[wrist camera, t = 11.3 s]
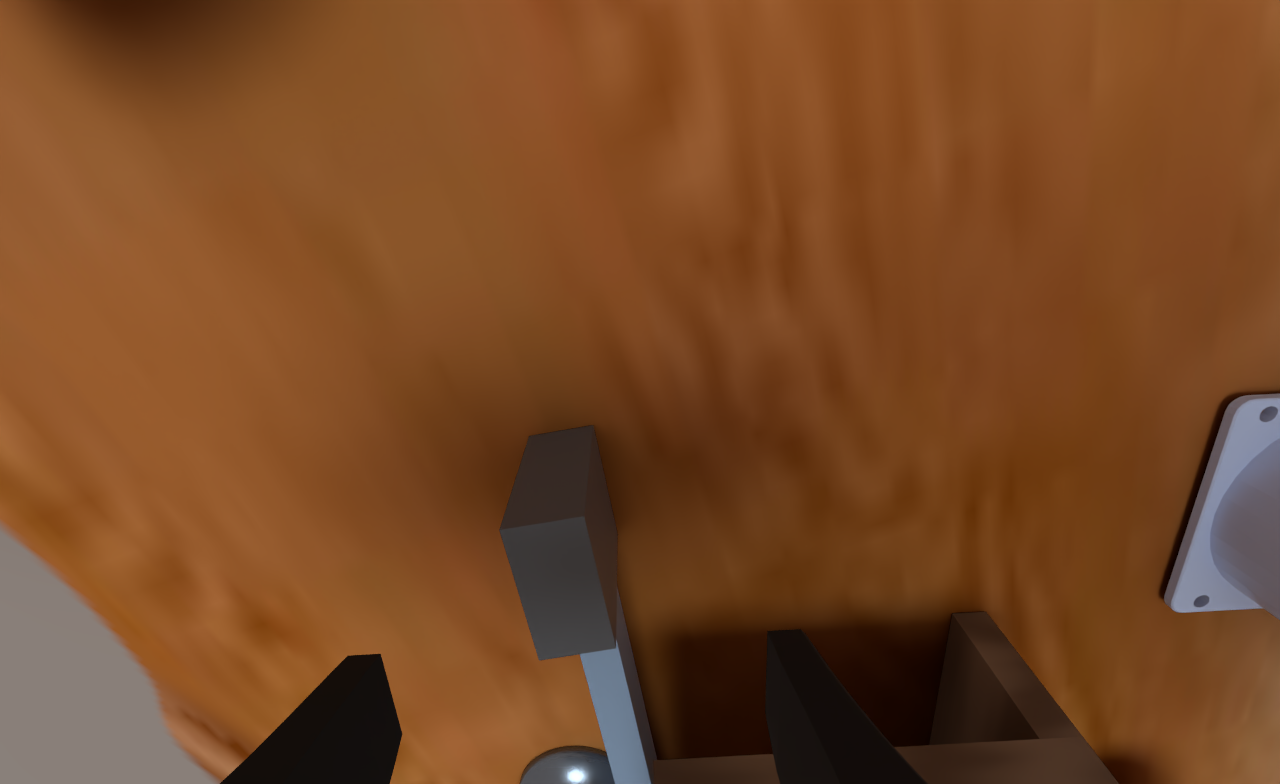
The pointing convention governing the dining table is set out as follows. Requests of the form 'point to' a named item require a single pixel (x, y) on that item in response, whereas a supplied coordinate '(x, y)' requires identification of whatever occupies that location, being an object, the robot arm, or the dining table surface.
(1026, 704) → the shelf
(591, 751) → the token
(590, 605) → the scraper
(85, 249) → the dining table surface
